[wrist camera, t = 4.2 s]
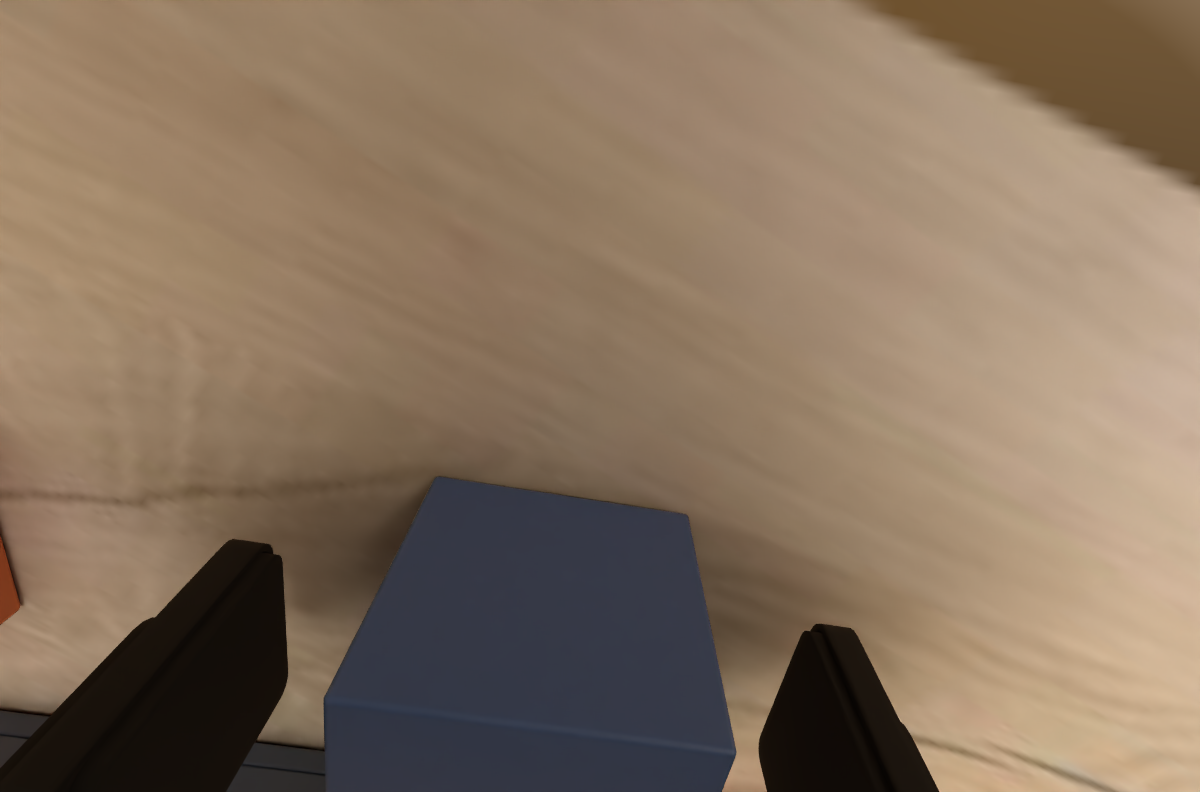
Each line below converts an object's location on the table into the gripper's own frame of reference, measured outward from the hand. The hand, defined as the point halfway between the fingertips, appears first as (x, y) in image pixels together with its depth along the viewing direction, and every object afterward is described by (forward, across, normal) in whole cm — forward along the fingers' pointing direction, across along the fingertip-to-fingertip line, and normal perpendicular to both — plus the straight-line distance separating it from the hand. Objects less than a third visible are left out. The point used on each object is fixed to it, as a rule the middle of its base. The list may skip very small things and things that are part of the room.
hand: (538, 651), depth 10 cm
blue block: (+1, 0, 0) cm, 1 cm away
